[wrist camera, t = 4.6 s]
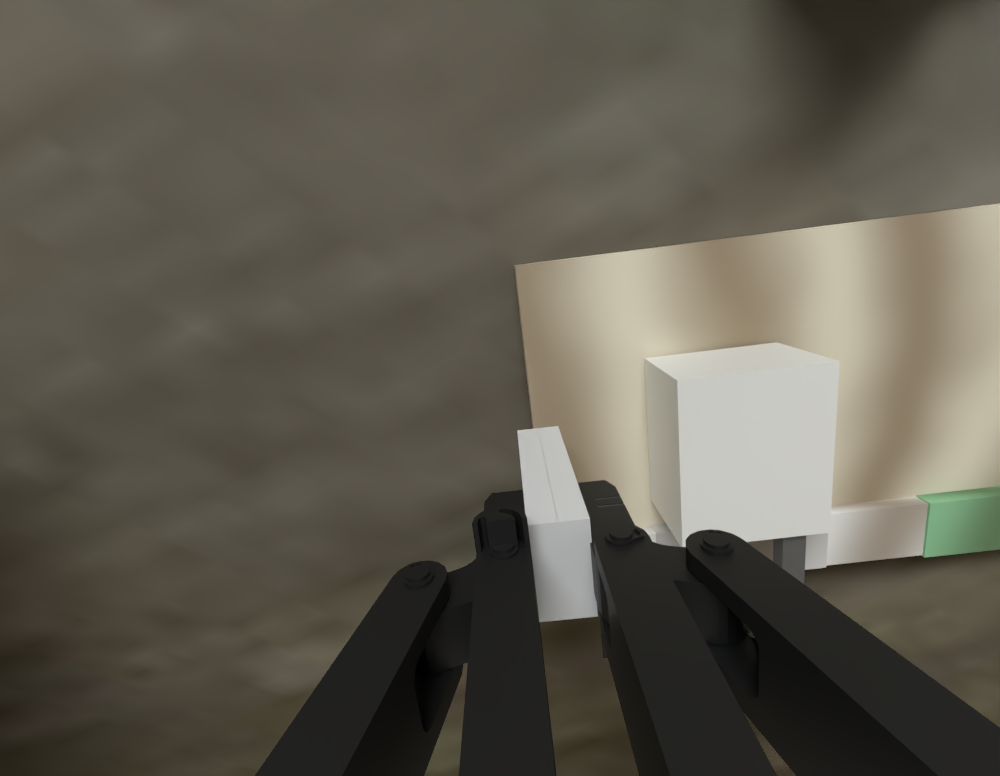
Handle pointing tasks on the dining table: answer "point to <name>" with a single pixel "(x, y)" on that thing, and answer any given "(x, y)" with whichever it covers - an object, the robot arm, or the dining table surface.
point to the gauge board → (810, 327)
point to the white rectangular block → (744, 444)
